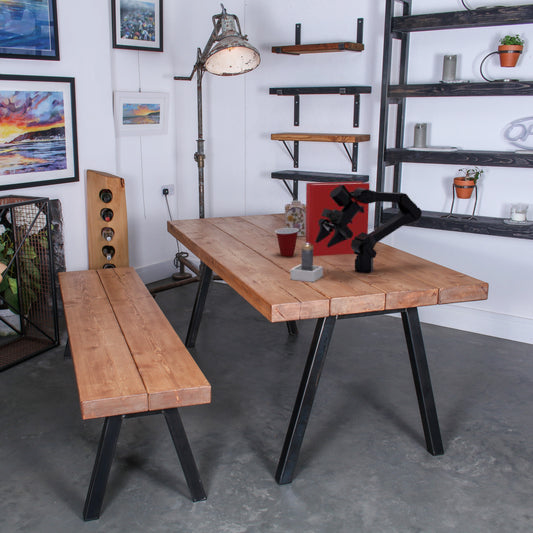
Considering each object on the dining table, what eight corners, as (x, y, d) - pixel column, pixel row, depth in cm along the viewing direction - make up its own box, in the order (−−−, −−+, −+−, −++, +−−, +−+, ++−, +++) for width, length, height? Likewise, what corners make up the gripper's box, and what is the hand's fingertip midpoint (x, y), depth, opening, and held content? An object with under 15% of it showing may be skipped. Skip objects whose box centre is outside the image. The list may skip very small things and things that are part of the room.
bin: (322, 276, 242) (322, 266, 241) (313, 282, 234) (313, 272, 233) (300, 273, 246) (300, 264, 245) (290, 279, 238) (290, 269, 237)
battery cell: (311, 275, 242) (312, 242, 239) (313, 278, 238) (313, 244, 235) (300, 275, 242) (301, 242, 239) (301, 278, 238) (302, 244, 234)
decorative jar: (307, 237, 320) (307, 202, 315) (284, 237, 320) (284, 202, 315) (306, 232, 331) (306, 199, 327) (284, 232, 331) (284, 199, 327)
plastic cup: (271, 254, 281) (271, 228, 278) (293, 252, 284) (293, 226, 282) (280, 259, 271) (280, 232, 268) (302, 257, 275) (302, 230, 272)
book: (360, 249, 290) (362, 181, 282) (367, 253, 282) (369, 183, 274) (304, 252, 284) (305, 182, 276) (309, 256, 276) (310, 184, 269)
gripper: (322, 197, 246) (297, 227, 244) (346, 203, 229) (320, 235, 227) (339, 215, 251) (315, 245, 249) (364, 223, 234) (338, 254, 232)
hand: (321, 244), depth 239 cm, fingers open, 9 cm apart
